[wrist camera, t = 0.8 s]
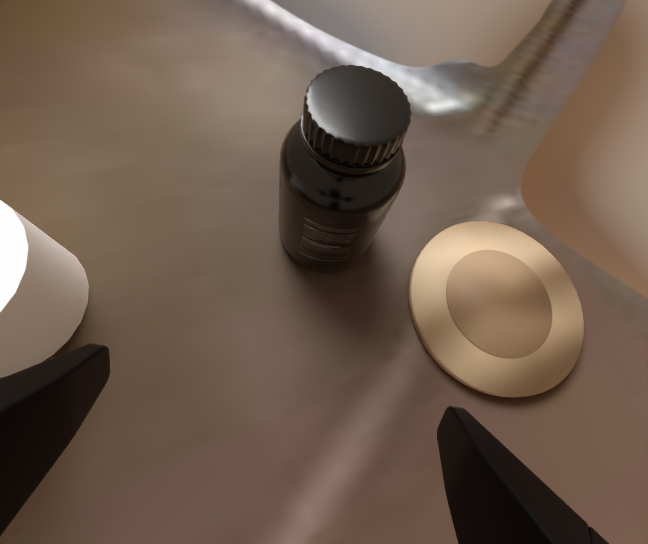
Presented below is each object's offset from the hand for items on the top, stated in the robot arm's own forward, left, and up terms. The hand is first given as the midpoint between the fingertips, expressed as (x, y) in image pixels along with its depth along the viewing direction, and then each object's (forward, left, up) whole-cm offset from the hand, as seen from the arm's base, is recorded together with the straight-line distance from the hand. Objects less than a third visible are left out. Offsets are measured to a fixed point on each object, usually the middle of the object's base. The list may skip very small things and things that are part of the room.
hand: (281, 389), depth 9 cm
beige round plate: (-3, -17, -13) cm, 22 cm away
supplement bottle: (+8, -9, -14) cm, 18 cm away
